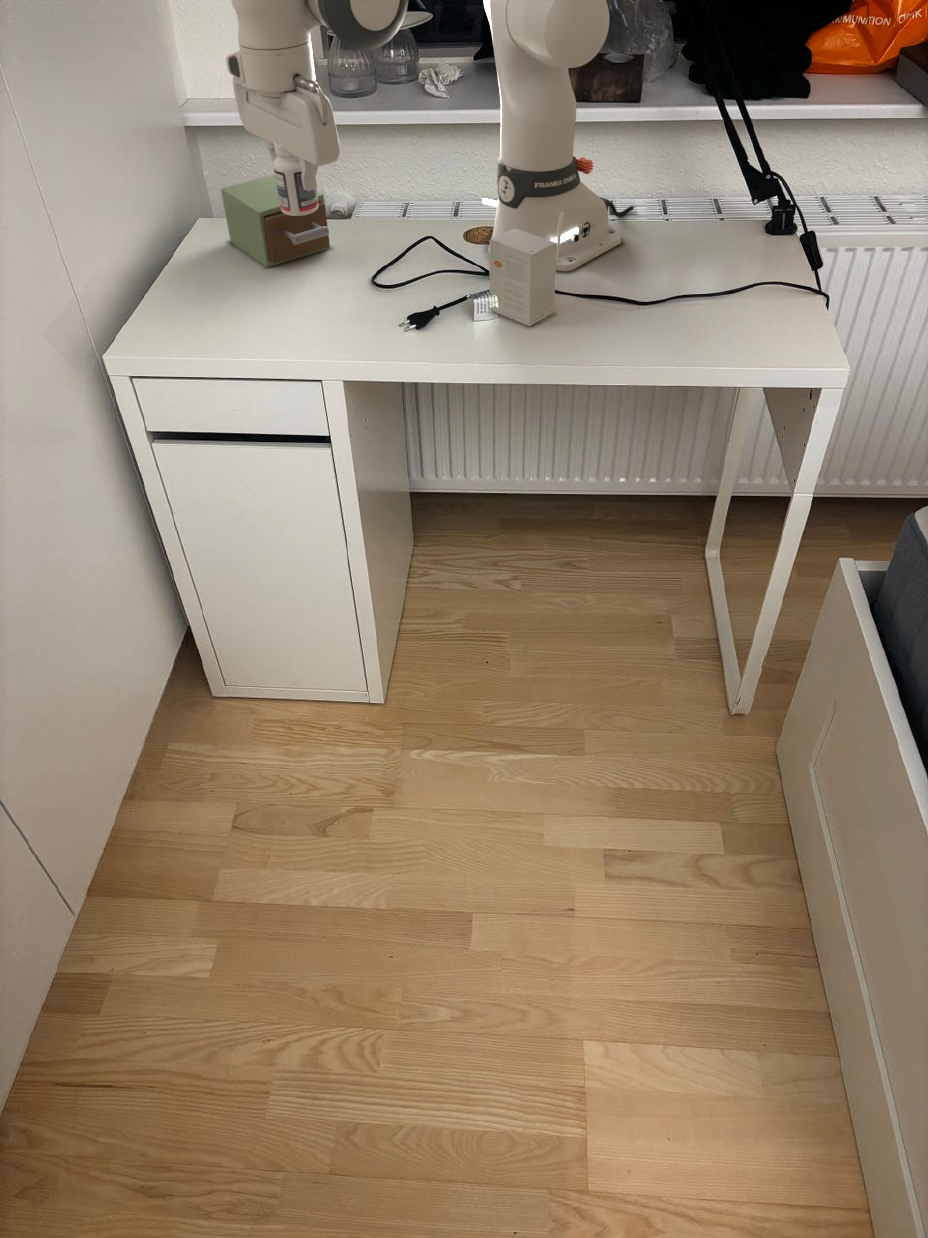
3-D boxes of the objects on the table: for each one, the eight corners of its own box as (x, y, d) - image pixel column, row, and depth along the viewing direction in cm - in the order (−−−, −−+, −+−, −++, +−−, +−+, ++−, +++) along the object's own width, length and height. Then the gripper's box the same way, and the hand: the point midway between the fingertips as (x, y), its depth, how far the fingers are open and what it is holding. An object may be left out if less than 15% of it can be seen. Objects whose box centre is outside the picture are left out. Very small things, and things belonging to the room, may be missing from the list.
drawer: (343, 254, 147) (339, 211, 142) (286, 272, 143) (280, 228, 138) (294, 224, 156) (288, 182, 151) (239, 239, 152) (231, 197, 147)
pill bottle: (322, 201, 129) (313, 133, 123) (314, 216, 125) (305, 147, 119) (285, 201, 129) (274, 133, 123) (276, 216, 126) (265, 147, 119)
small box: (554, 314, 134) (559, 242, 127) (529, 327, 131) (532, 254, 124) (513, 297, 138) (515, 226, 131) (487, 310, 135) (488, 238, 128)
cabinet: (329, 248, 151) (323, 194, 145) (267, 267, 146) (258, 212, 140) (291, 224, 158) (283, 171, 152) (230, 241, 153) (220, 188, 147)
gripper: (344, 79, 110) (357, 197, 120) (261, 46, 122) (279, 156, 132) (299, 90, 108) (316, 210, 118) (218, 55, 119) (240, 167, 129)
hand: (296, 181), depth 125 cm, fingers closed on pill bottle, 5 cm apart
